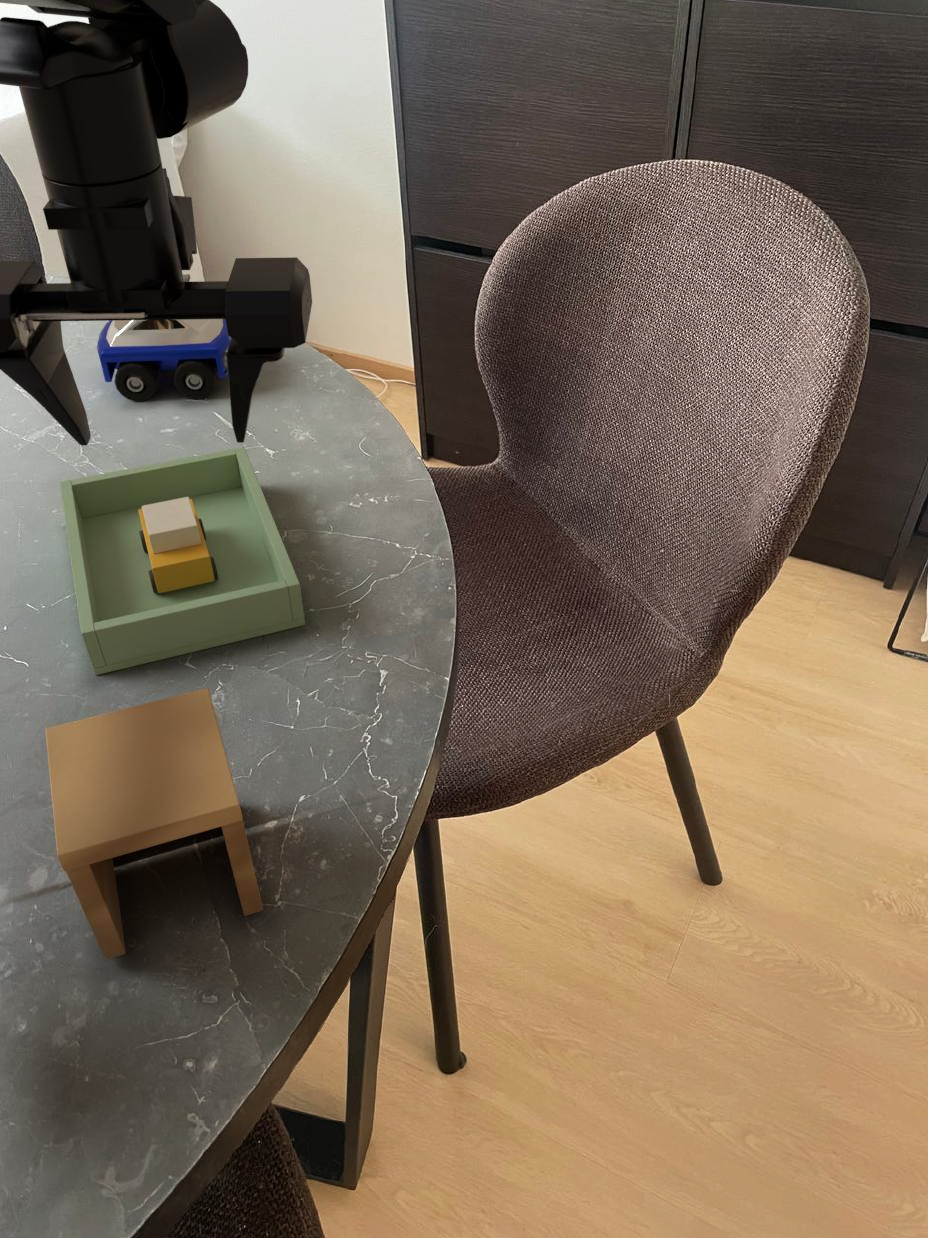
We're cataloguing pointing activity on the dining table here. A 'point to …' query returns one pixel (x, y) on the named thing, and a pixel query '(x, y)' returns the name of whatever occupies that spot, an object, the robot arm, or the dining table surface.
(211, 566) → the small car
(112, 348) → the toy car
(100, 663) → the green box
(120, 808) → the oak stand
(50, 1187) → the dining table surface
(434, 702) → the dining table surface
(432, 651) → the dining table surface
